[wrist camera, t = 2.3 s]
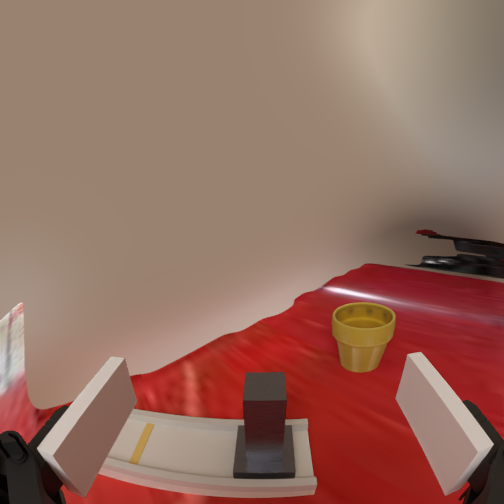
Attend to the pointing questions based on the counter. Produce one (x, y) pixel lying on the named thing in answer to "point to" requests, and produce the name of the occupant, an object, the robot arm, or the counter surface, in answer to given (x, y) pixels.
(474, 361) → the counter surface
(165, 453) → the rail
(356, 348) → the plant pot
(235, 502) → the counter surface
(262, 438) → the post
